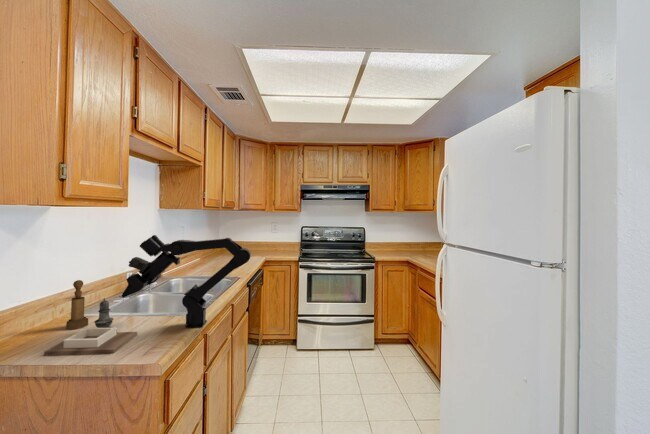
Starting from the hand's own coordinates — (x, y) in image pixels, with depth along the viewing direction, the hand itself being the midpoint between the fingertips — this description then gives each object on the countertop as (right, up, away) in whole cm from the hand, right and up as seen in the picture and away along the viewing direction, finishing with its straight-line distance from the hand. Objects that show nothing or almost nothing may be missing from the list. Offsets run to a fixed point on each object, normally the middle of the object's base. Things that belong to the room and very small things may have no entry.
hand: (128, 293), depth 111 cm
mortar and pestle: (-21, -13, +1) cm, 25 cm away
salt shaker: (-8, -14, -2) cm, 16 cm away
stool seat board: (-2, -14, -14) cm, 19 cm away
